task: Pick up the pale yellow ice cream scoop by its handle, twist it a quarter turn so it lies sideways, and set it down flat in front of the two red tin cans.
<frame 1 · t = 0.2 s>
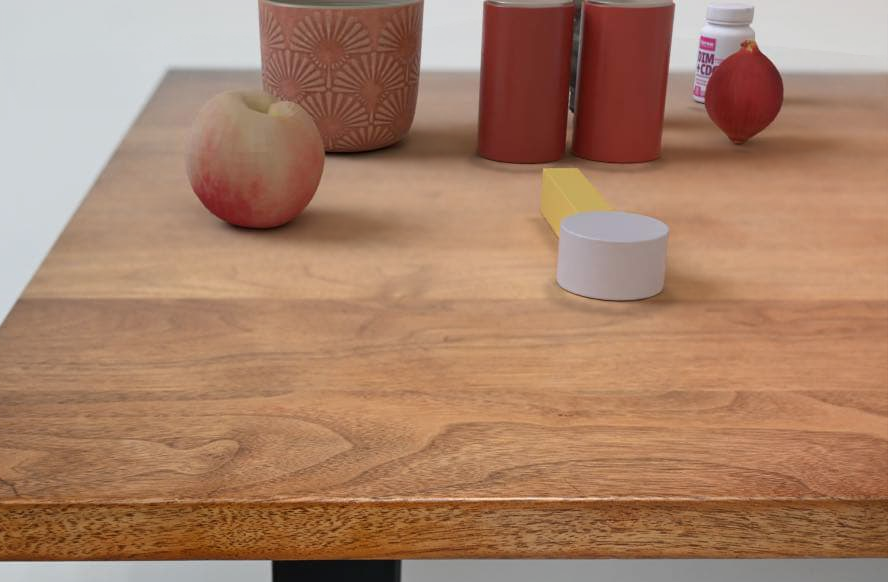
onion: (737, 145, 98), on the table
cans: (568, 152, 95), on the table
fruit: (256, 225, 77), on the table
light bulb: (588, 124, 105), on the table
planter: (340, 144, 98), on the table
pill bottle: (719, 103, 114), on the table
scoop: (609, 283, 67), on the table
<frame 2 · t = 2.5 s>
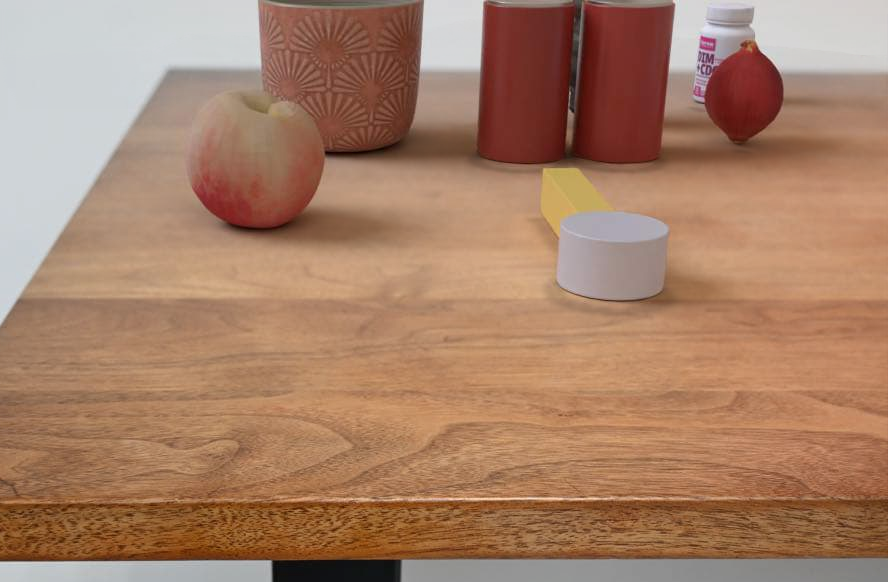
nothing on the table moved.
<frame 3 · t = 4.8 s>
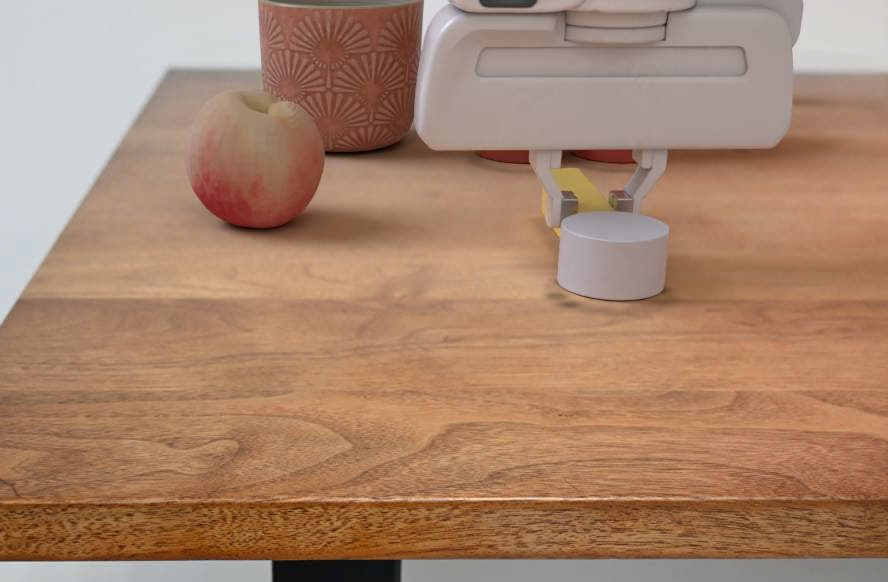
hand: (591, 225, 71), 2 cm above the table, tool pointing down, fingers closed on scoop, 2 cm apart
scoop: (610, 283, 67), on the table, touching gripper
everything else where it was.
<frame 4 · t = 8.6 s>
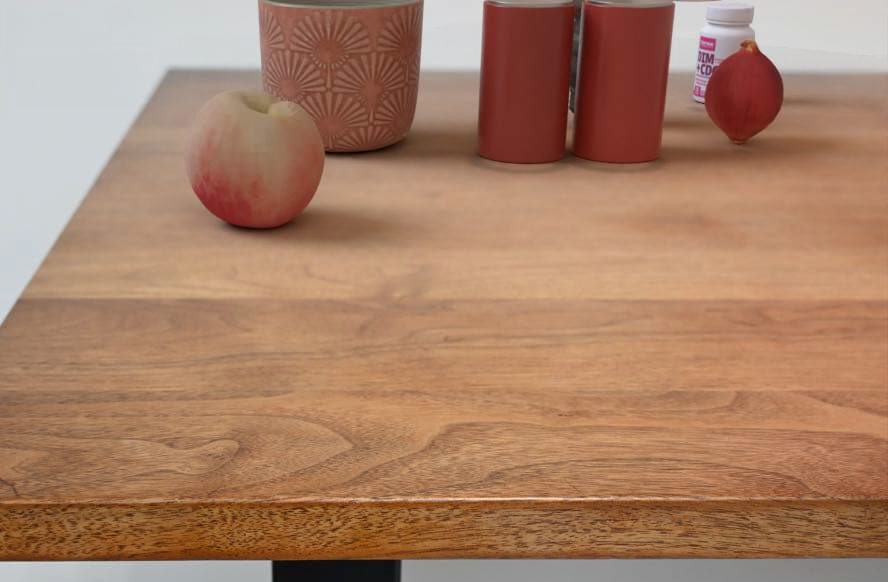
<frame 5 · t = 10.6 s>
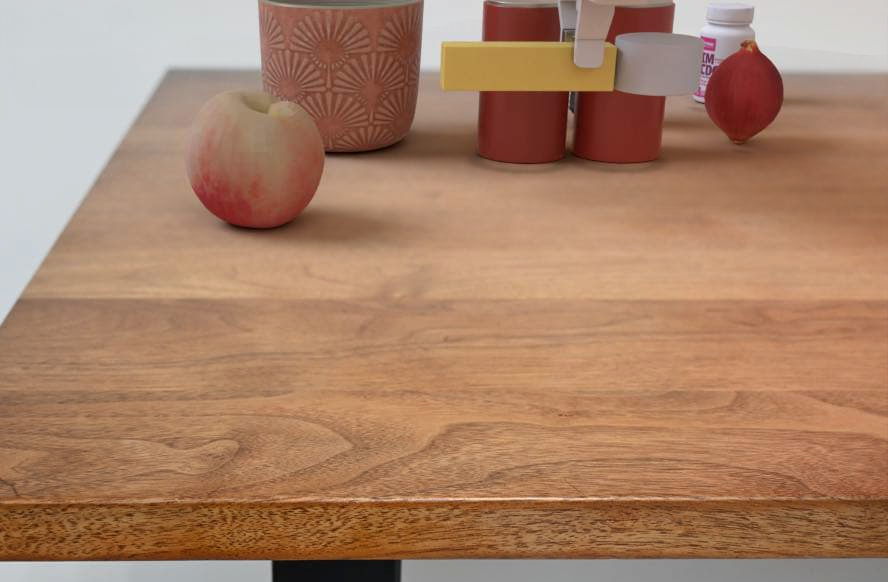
hand: (580, 61, 81), 9 cm above the table, tool pointing down, fingers closed on scoop, 2 cm apart
scoop: (654, 88, 82), point 7 cm above the table, touching gripper
everything else where it was.
when the fingers open (2 cm above the table, at t = 12.3 s): scoop stays where it is, on the table.
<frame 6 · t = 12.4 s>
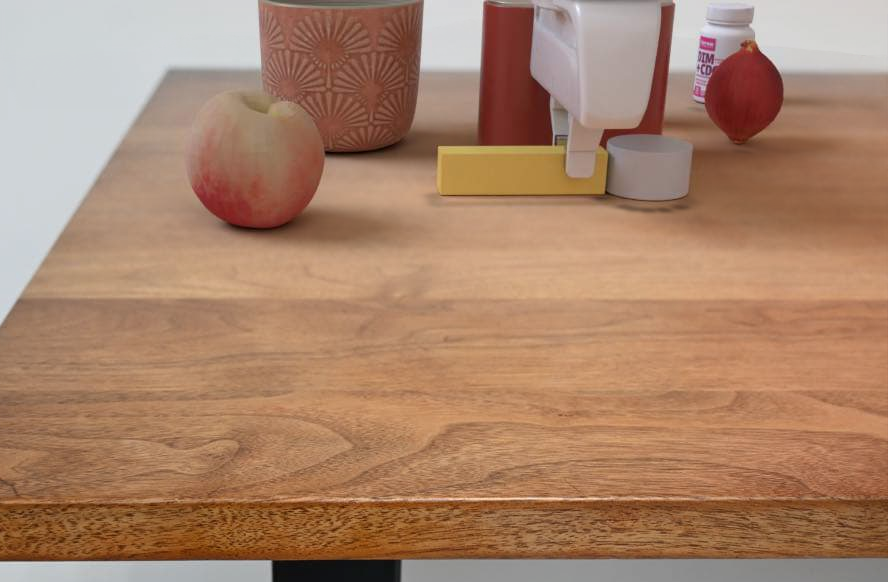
hand: (572, 168, 84), 1 cm above the table, tool pointing down
scoop: (645, 189, 85), on the table
everything else where it was.
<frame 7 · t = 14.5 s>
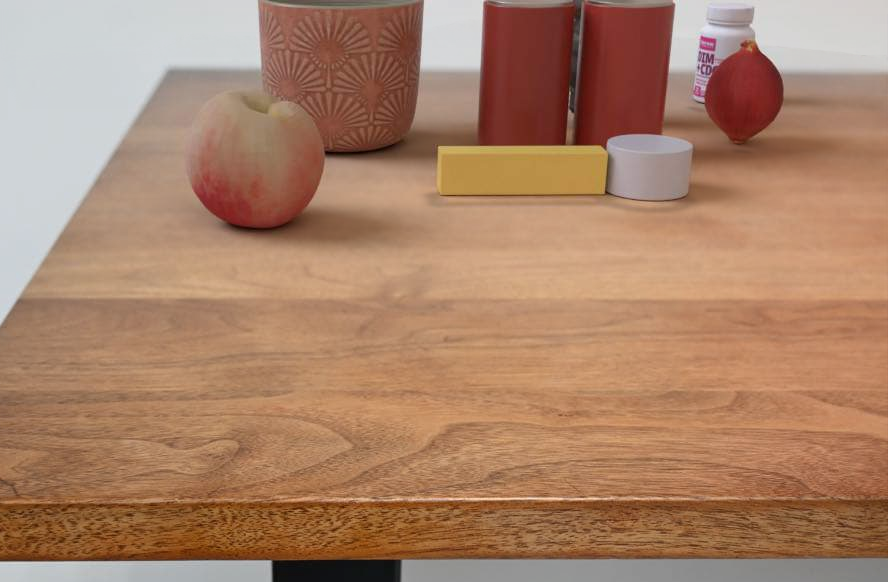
nothing on the table moved.
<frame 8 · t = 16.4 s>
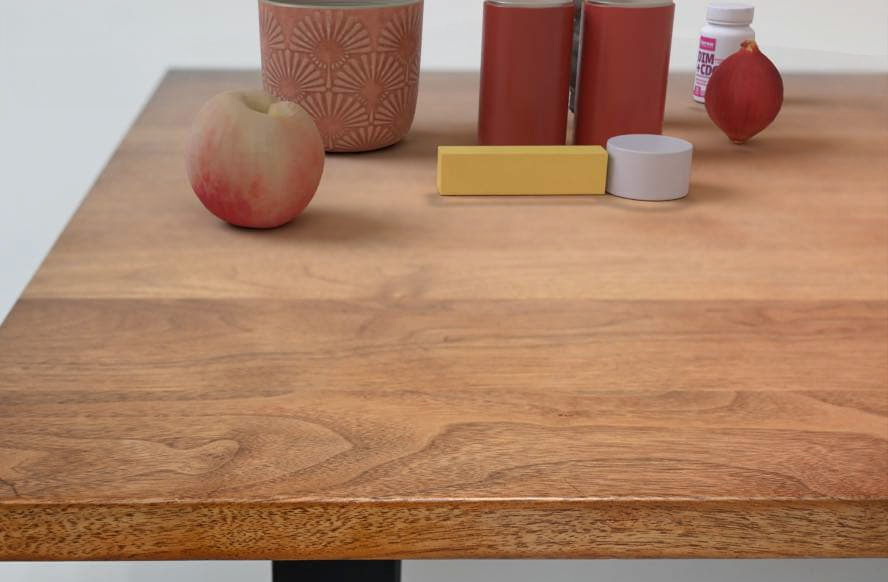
nothing on the table moved.
at the end: scoop 0.1 cm from the target spot on the table beside the cans, on the table; scoop tilted 0°; the gripper is holding nothing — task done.
